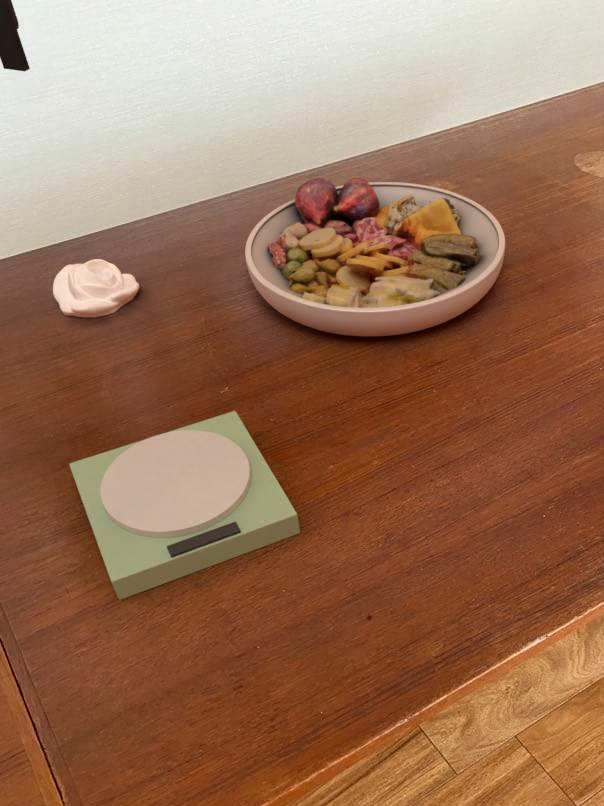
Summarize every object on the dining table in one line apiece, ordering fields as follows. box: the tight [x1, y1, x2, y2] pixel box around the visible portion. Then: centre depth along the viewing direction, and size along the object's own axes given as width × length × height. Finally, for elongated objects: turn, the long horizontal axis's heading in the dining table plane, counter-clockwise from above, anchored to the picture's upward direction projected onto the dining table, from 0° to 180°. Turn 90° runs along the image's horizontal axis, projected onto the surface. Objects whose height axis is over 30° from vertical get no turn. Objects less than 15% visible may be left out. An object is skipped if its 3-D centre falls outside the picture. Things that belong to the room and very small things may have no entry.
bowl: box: [244, 177, 506, 337], centre depth 101 cm, size 30×30×8 cm
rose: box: [52, 258, 140, 318], centre depth 101 cm, size 10×4×10 cm
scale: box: [68, 410, 301, 601], centre depth 77 cm, size 16×16×3 cm
